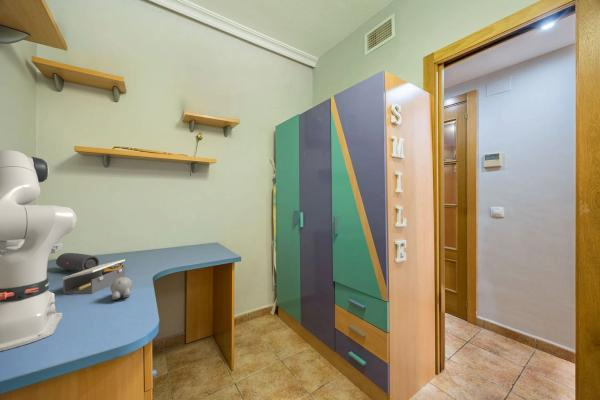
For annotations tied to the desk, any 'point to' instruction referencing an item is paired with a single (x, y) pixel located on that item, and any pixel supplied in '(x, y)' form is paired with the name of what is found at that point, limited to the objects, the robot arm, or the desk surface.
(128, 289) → the grey toy animal
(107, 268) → the electronic device
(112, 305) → the desk surface
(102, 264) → the cover
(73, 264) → the bluetooth speaker
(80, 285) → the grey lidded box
